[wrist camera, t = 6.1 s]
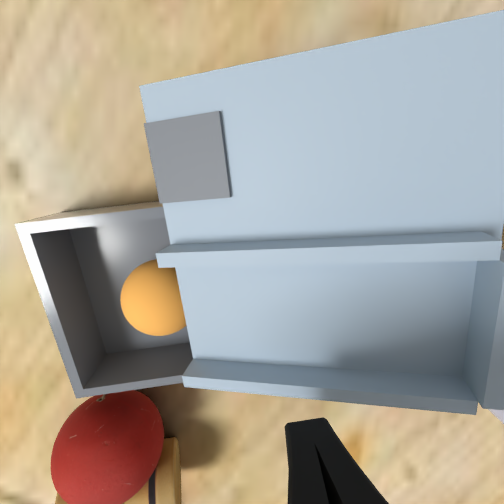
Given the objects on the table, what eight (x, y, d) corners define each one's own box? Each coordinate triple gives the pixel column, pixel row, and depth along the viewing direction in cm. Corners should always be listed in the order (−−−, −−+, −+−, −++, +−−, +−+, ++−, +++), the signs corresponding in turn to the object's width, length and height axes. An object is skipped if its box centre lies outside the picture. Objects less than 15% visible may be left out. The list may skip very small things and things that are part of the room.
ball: (154, 248, 17) (208, 250, 15) (167, 308, 18) (219, 316, 16) (93, 272, 14) (154, 279, 12) (113, 344, 15) (172, 359, 13)
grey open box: (229, 192, 16) (230, 198, 13) (248, 336, 19) (252, 372, 16) (60, 212, 16) (14, 223, 12) (103, 356, 18) (76, 398, 15)
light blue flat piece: (517, 17, 8) (586, -33, 6) (468, 378, 12) (500, 426, 10) (151, 90, 11) (110, 74, 9) (201, 360, 15) (181, 393, 13)
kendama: (209, 519, 25) (186, 372, 18) (188, 634, 20) (142, 487, 12) (127, 510, 26) (73, 364, 19) (83, 618, 20) (-19, 470, 13)
